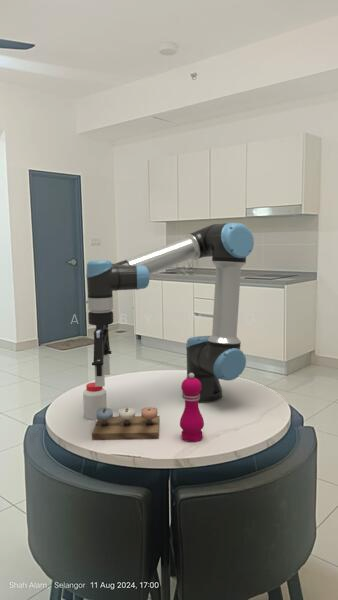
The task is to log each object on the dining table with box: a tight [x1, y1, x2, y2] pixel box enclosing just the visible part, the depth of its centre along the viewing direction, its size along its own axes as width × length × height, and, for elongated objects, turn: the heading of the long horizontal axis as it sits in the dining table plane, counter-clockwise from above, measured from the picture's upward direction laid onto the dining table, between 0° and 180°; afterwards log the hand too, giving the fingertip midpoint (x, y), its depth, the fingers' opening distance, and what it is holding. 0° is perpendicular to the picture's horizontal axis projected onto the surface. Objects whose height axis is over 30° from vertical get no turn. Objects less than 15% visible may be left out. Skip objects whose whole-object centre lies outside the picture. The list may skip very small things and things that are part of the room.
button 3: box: [96, 407, 114, 425], centre depth 152 cm, size 5×5×4 cm
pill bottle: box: [82, 381, 108, 421], centre depth 165 cm, size 8×8×11 cm
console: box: [91, 415, 160, 441], centre depth 152 cm, size 20×14×2 cm
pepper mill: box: [179, 373, 205, 443], centre depth 145 cm, size 7×7×20 cm
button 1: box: [140, 406, 158, 424], centre depth 152 cm, size 5×5×4 cm
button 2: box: [118, 407, 136, 424], centre depth 152 cm, size 5×5×4 cm
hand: (102, 380), depth 151 cm, fingers open, 12 cm apart
